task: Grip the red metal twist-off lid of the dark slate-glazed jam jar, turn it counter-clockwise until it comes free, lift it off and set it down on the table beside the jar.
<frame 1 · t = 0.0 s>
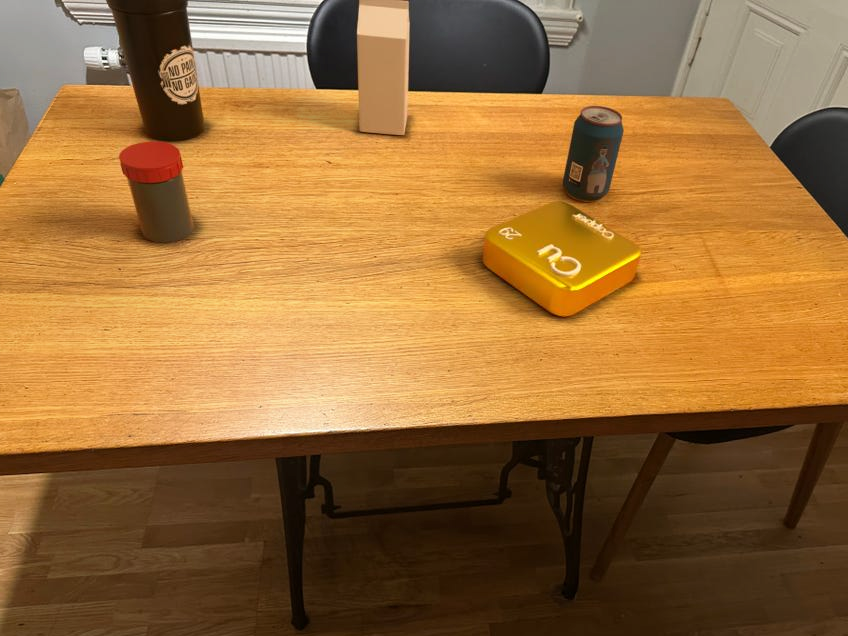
water bottle: (175, 129, 106), on the table
jar lid: (150, 157, 80), point 10 cm above the table, screwed on, not yet turned
element tile: (557, 270, 89), on the table
soda can: (584, 193, 104), on the table
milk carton: (384, 126, 113), on the table
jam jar: (168, 229, 87), on the table
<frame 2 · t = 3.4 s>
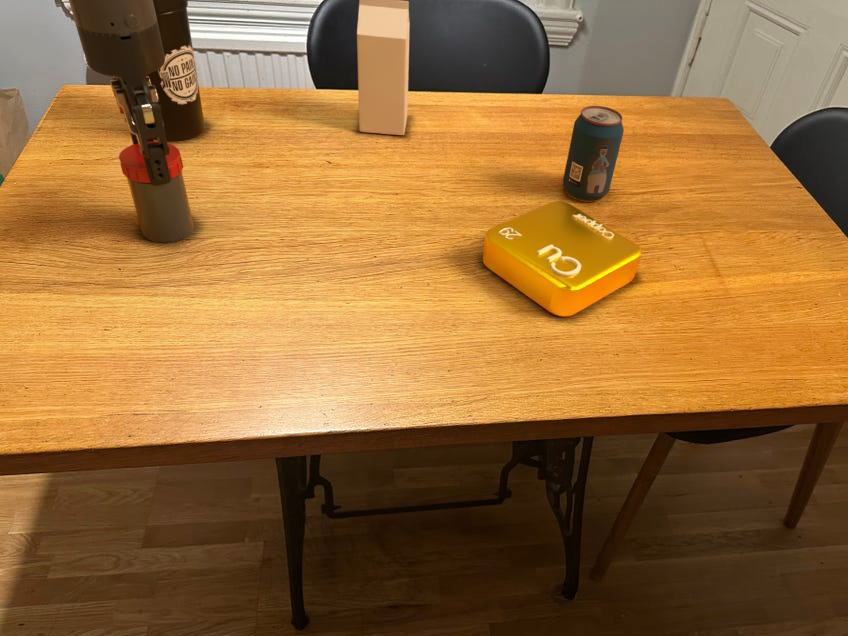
hand: (153, 168, 81), 8 cm above the table, tool pointing down, fingers closed on jar lid, 6 cm apart
jar lid: (150, 157, 80), point 10 cm above the table, screwed on, not yet turned, touching gripper
everything else where it was.
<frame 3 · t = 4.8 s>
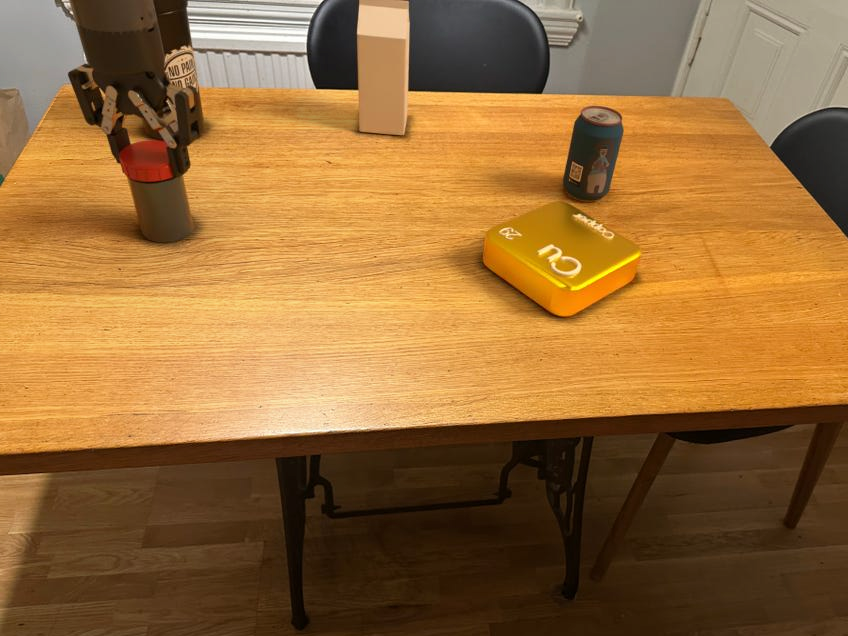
hand: (153, 167, 81), 8 cm above the table, tool pointing down, fingers closed on jar lid, 6 cm apart
jar lid: (150, 156, 80), point 10 cm above the table, turned 45° so far, risen 0.1 cm, still on its thread, touching gripper
everything else where it was.
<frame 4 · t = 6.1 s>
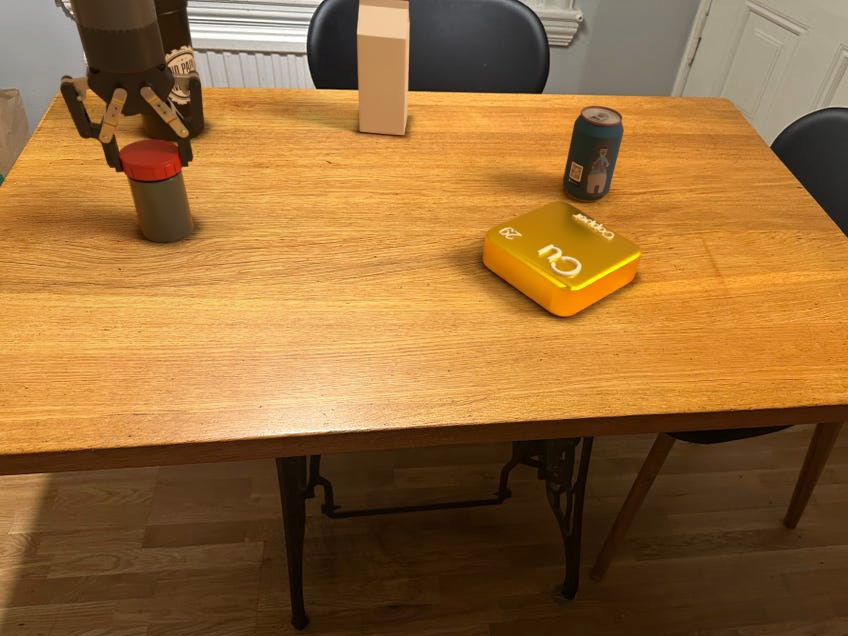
hand: (153, 166, 81), 9 cm above the table, tool pointing down, fingers closed on jar lid, 6 cm apart
jar lid: (150, 155, 80), point 10 cm above the table, turned 80° so far, risen 0.2 cm, still on its thread, touching gripper
everything else where it was.
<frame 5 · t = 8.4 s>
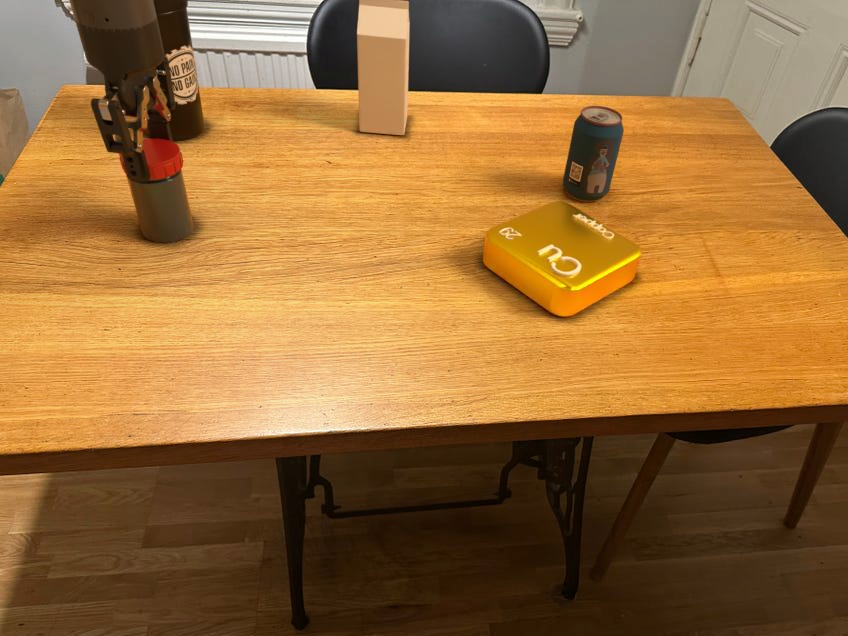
hand: (153, 165, 81), 9 cm above the table, tool pointing down, fingers closed on jar lid, 6 cm apart
jar lid: (150, 154, 80), point 10 cm above the table, off its thread, touching gripper
everything else where it was.
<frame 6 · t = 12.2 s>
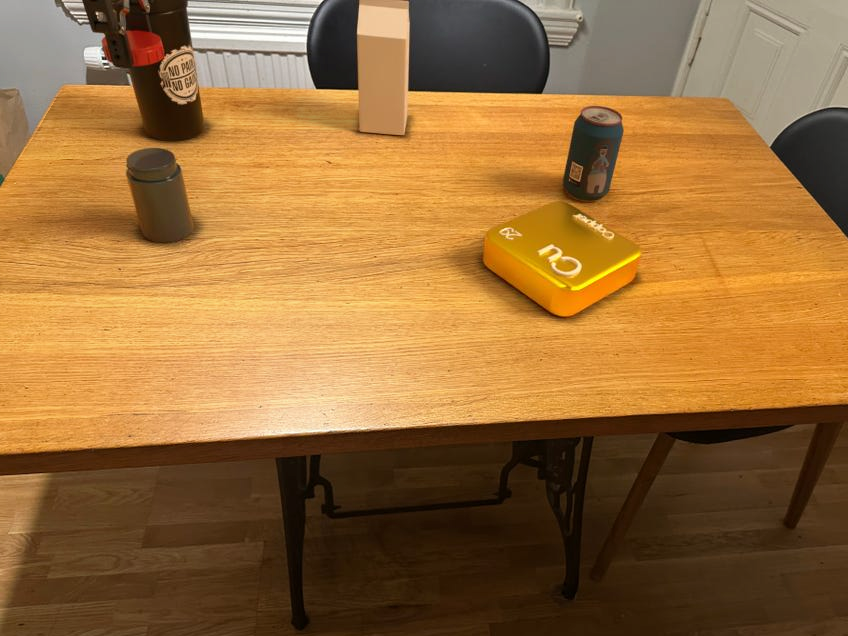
hand: (134, 55, 83), 17 cm above the table, tool pointing down, fingers closed on jar lid, 6 cm apart
jar lid: (132, 43, 82), point 18 cm above the table, off its thread, touching gripper
everything else where it was.
when the fingers open (0 cm above the table, at t = 15.5 s): jar lid stays where it is, point 1 cm above the table.
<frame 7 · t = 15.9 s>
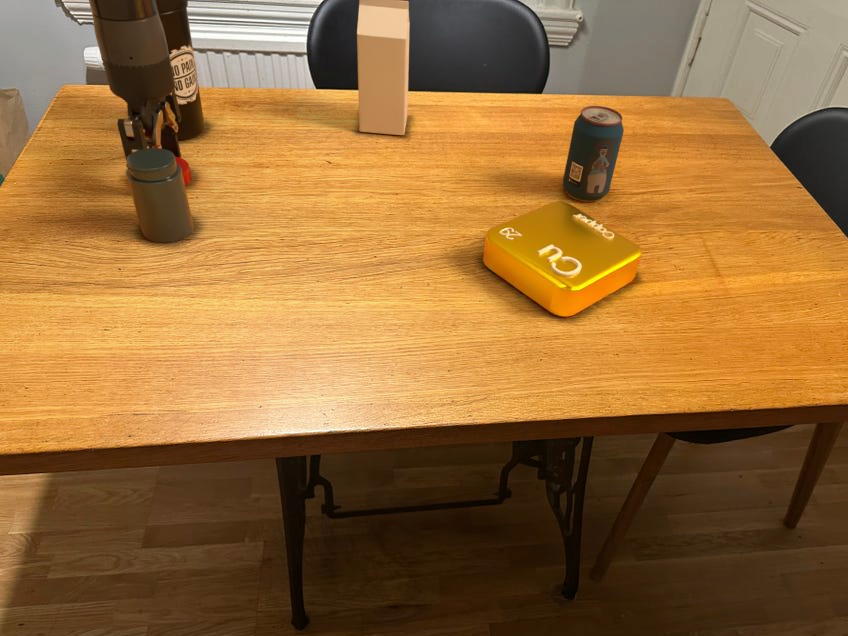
hand: (163, 173, 95), 1 cm above the table, tool pointing down, fingers open, 8 cm apart
jar lid: (164, 169, 94), point 1 cm above the table, off its thread
everything else where it was.
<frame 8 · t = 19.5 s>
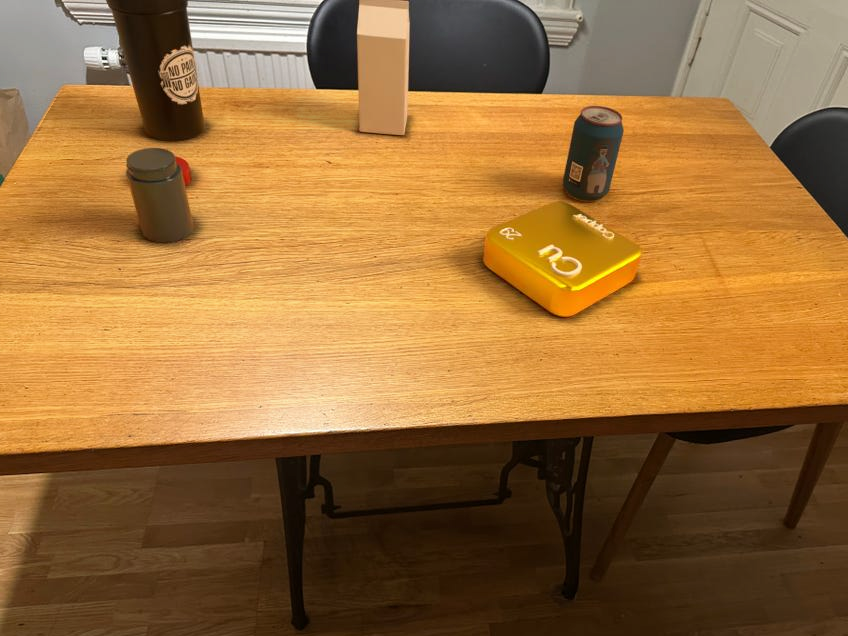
nothing on the table moved.
at the end: jar lid inside the target area (0.3 cm from its centre), point 1.5 cm above the table; the gripper is holding nothing; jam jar tilted 0° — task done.
